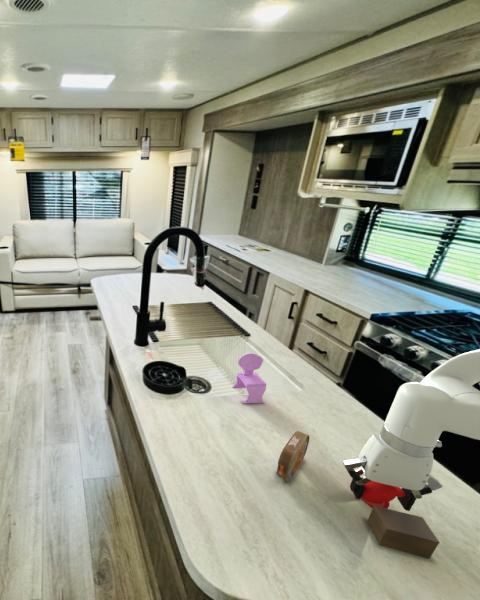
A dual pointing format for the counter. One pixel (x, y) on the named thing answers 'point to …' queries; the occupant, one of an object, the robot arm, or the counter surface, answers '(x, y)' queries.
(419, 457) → the robot arm
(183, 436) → the counter surface
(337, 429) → the counter surface
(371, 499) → the cap
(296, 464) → the tin
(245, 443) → the counter surface
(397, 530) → the stop block
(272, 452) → the counter surface
